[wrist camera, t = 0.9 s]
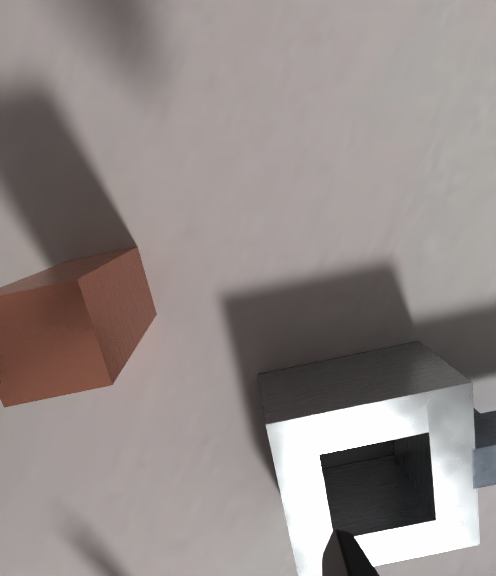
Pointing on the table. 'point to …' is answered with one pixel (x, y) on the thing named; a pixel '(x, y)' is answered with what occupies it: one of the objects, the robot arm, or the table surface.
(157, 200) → the table surface
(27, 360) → the square peg
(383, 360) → the square frame with handle
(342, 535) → the robot arm
